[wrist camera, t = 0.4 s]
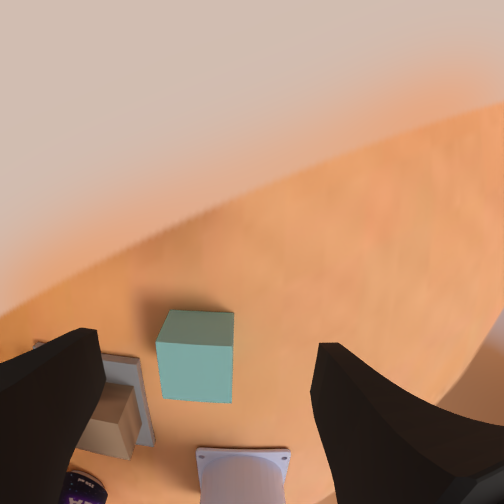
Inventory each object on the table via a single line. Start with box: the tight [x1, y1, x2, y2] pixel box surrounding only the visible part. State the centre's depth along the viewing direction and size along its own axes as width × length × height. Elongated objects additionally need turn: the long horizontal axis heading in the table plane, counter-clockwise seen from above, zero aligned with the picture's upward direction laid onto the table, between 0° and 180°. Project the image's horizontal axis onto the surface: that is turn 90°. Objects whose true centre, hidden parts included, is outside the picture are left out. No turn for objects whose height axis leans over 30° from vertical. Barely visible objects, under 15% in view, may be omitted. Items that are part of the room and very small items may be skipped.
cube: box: [156, 310, 234, 403], centre depth 18 cm, size 4×4×4 cm
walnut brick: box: [76, 382, 142, 460], centre depth 18 cm, size 8×4×4 cm, turn 87°
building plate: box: [33, 342, 156, 447], centre depth 21 cm, size 9×9×1 cm
